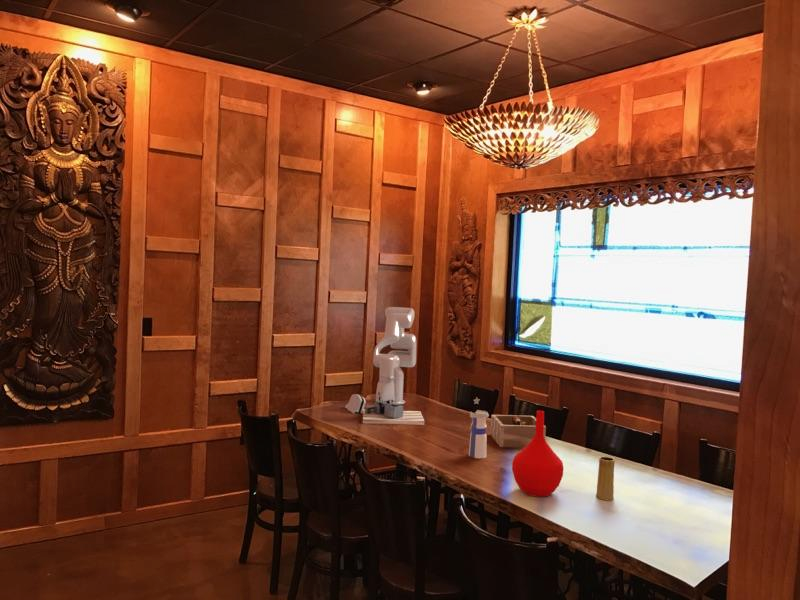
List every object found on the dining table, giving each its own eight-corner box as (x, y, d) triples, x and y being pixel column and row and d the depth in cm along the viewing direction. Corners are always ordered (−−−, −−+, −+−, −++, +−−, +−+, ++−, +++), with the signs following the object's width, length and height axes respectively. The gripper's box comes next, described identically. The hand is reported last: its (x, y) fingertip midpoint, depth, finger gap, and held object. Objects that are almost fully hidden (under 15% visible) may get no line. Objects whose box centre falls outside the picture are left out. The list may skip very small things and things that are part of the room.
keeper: (363, 416, 334) (363, 406, 333) (374, 414, 340) (374, 404, 340) (367, 417, 331) (368, 408, 331) (379, 415, 338) (379, 405, 338)
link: (366, 411, 335) (366, 400, 335) (375, 410, 340) (375, 399, 340) (393, 418, 322) (394, 407, 321) (402, 417, 327) (403, 405, 326)
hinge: (344, 407, 354) (350, 390, 355) (351, 409, 356) (358, 393, 357) (353, 413, 339) (360, 396, 340) (361, 416, 341) (367, 399, 342)
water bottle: (463, 455, 269) (465, 398, 268) (476, 452, 274) (479, 396, 273) (477, 459, 262) (479, 401, 262) (490, 456, 268) (493, 399, 267)
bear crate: (490, 434, 306) (491, 414, 306) (532, 435, 307) (533, 415, 307) (500, 447, 284) (501, 425, 284) (544, 448, 285) (545, 426, 285)
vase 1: (538, 505, 212) (543, 419, 211) (500, 488, 227) (504, 408, 226) (572, 495, 223) (577, 414, 222) (534, 480, 238) (538, 404, 237)
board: (363, 413, 341) (363, 409, 341) (420, 414, 343) (420, 411, 343) (362, 423, 318) (362, 419, 318) (424, 424, 320) (424, 421, 320)
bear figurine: (513, 446, 288) (514, 420, 287) (502, 437, 302) (503, 412, 302) (540, 445, 290) (542, 420, 290) (528, 437, 305) (529, 412, 304)
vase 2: (616, 500, 220) (618, 461, 219) (600, 500, 219) (602, 461, 219) (609, 494, 226) (611, 456, 225) (593, 494, 225) (595, 456, 225)
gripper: (391, 376, 339) (390, 409, 339) (370, 379, 326) (368, 414, 327) (401, 378, 334) (400, 412, 334) (380, 382, 321) (378, 416, 322)
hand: (384, 412), depth 331 cm, fingers closed on link, 4 cm apart
